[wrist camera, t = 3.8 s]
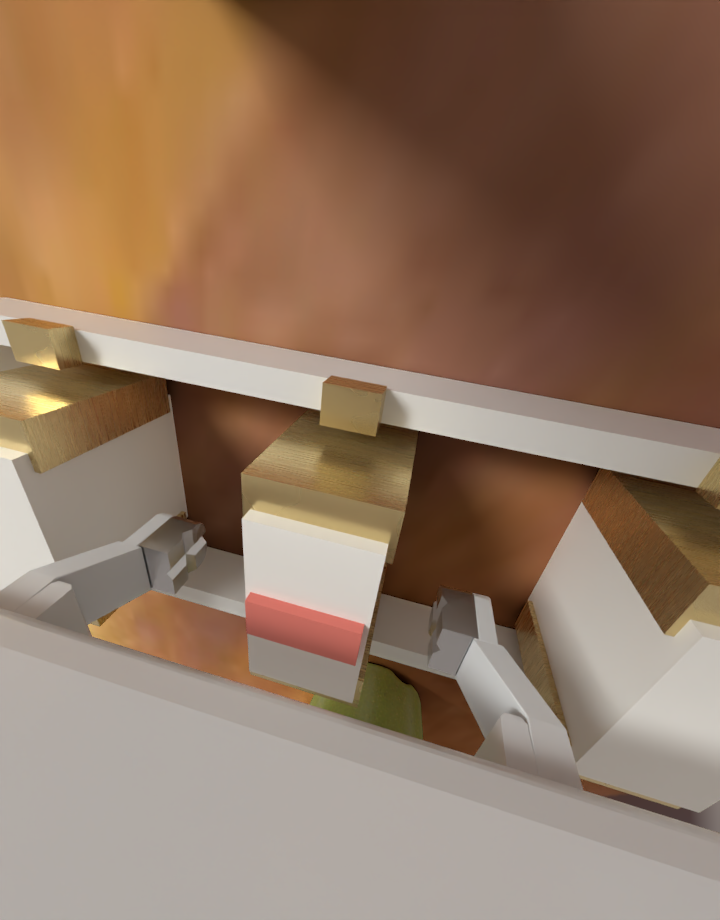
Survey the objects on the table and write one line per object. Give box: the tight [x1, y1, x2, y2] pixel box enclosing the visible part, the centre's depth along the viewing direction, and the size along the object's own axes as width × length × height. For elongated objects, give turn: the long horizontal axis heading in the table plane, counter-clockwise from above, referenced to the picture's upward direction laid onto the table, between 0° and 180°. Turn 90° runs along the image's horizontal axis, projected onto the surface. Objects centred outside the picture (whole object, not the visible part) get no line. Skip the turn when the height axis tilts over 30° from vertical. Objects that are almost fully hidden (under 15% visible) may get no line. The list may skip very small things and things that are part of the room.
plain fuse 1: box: [0, 362, 188, 626], centre depth 13 cm, size 4×8×6 cm, turn 172°
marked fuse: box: [241, 408, 419, 708], centre depth 12 cm, size 4×8×6 cm, turn 172°
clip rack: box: [0, 298, 720, 680], centre depth 13 cm, size 30×12×3 cm, turn 82°
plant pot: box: [310, 663, 423, 740], centre depth 17 cm, size 9×9×9 cm
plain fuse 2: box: [515, 468, 720, 813], centre depth 11 cm, size 4×8×6 cm, turn 172°
